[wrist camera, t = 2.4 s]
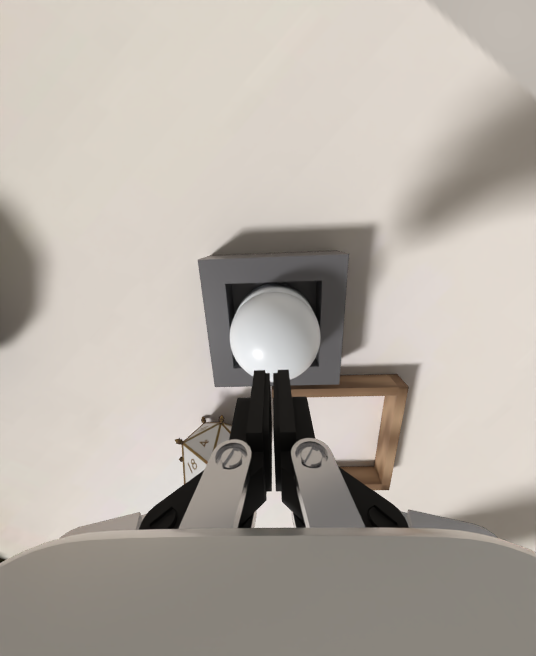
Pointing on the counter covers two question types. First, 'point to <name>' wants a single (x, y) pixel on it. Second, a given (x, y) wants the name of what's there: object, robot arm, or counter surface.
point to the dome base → (282, 268)
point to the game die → (202, 446)
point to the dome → (275, 331)
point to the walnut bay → (390, 421)
